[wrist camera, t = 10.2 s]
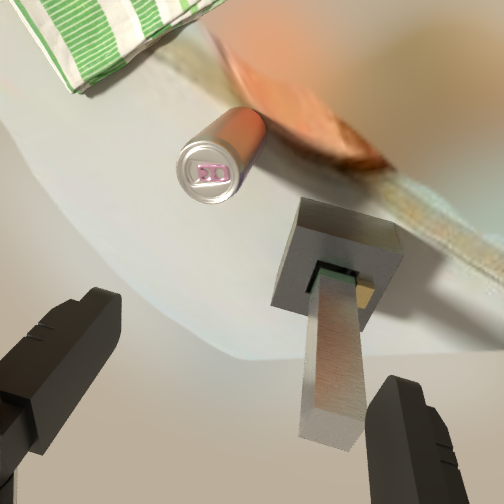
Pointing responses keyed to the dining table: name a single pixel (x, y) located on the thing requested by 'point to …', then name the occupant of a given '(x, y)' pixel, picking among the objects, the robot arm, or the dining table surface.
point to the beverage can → (221, 156)
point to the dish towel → (101, 32)
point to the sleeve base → (336, 256)
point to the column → (333, 365)
